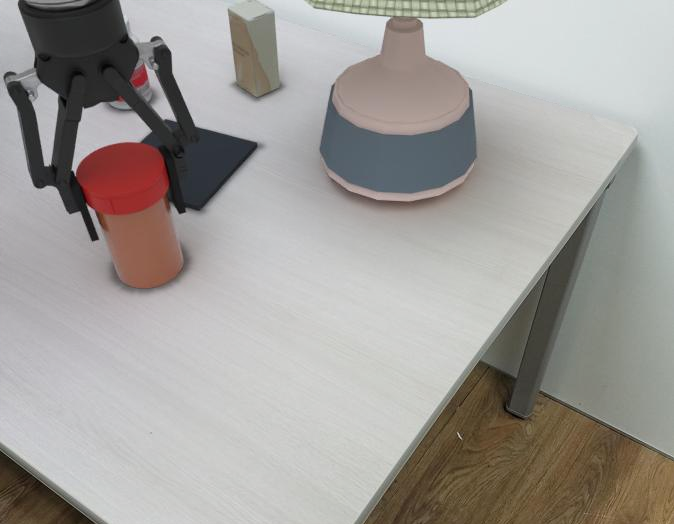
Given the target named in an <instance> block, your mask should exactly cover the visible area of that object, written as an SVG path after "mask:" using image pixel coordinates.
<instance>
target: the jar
mask: <svg viewBox="0 0 674 524" xmlns="http://www.w3.org/2000/svg"><path fill="white" fill-rule="evenodd" d="M170 203H171V202H170V201H169V200H168V196H167V192H166V194H165V195H164V197H163V198H162V199H161V200H159V201H158V202H157V203H156V204H154V205H152V206H151V207H149V208H147V209H144V210H142V211H139V212H135V213H131V214H125V215H109V214H104V213H100V212H97V211H95V210H93V211H94V214H95V217H96V219H97V222H98V225H99V227H100V230H101V233H102V237H103V239H104V241H105V244H106V246H107V250H108V252H109V255H110V258H111V261H112V264H113V267H114V269H115V272H116V275H117V277H118V279H119V280H120V281H121V282H122V283H123V284H125V285H127V286H128V287H131V288H135V289H152V288H157V287H160V286H163V285H166V284H167V283H170V282H171V281H172V280H174V279H175V278H176V277H177V276H178V275H179V274H180V272H181V271H182V269H183V267H184V261H185V260H184V254H183V251H182V247H181V243H180V238H179V235H178V231H177V227H176V224H175V220H174V215H173V212H172V208H171V207H172V206H171V204H170Z"/></svg>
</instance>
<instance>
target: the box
mask: <svg viewBox="0 0 674 524" xmlns="http://www.w3.org/2000/svg"><path fill="white" fill-rule="evenodd" d="M226 10H227V16H228V23H229V31H230V40H231V48H232V55H233V57H232V58H233V65H234V66H233V67H234V74H235V81H236V82H235V83H236V85H238V86H239V87H240V88H242V89H243V90H245V91H246V92H248V93H249V94H251V95H252V96H253V97H255V98H259V97H262V96H264V95H266V94H268V93H270V92H272V91H275V90H277V89H279V88H280V87H281V85H280V84H281V83H280V70H279V59H278V58H279V57H278V43H277V27H276V16H275V15H276V14H275V10H274V9H273V8H271V7H269V6H267V5H265V4H264V3H262V2H260V1H259V0H243V1H241V2H238V3H236V4H233V5H230V6H228V7H227V9H226Z"/></svg>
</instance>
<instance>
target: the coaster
mask: <svg viewBox="0 0 674 524" xmlns="http://www.w3.org/2000/svg"><path fill="white" fill-rule="evenodd" d="M163 120H164V122H165V123H166V124H167V125H168V126H169V128H170V129H171V130H172V131H173V132H174V131H175V130H177V129H178V128H180V127H179V125H178V122H177V121H175V120H172V119H166V118H165V119H163ZM196 129H197V131H198V133H199V136H200V141H199V142H198V143H197V144H194V145H192V144H190V145H188V146H187V147H186V148H185V149H184V150H185V152H186V156H185V157H184V158H185V163H186V167H187V171H188V177H187V179H185V180H182V181H179V183H180V188H181V192H182V196H183V200H184V204H185V207H187V208H191V209H194V210H198V211H200V210H201V209H202V208H203V207H204V206H205V205H206V204H207V203H208V202H209V201H210V199H211V198H212V197H213V196H214V195H215V194H216V193H217V192H218V191H219V189H220V188H222V186H223V185H224V184H225V183H226V182H227V181H228V180H229V178H231V176H232V175H233V174H234V173H235V172H236V171H237V170H238V168H240V167H241V165H242V164H243V163H244V162H245V161H246V160H247V158H249V157H250V156H251V154H252V153H253V152H254V151H255V150H256V149H257V148H258V141H257V142H256V141H254V140H253V141H252V140H249V139H245V138H241V137H238V136H234V135H229V134H227V133H222V132H218V131H214V130H210V129H206V128H203V127H198V126H196ZM139 143H143V144H147V145H150V146H152V147H154V148H156V149H157V150H158V151H159V149H158V146H160V145H164V144H163V143H162V142H161V141H160V139H159V138H158V137H157V136H156V135H155V134H154V133H153V131H152V130H151V132H149V133H148V134H147V135H146V136H145V137H144V138H143V139H142V140H141V141H140V142H139ZM167 196H168V200H169V203H173V202H172V200H171V196H170V192H169V188H168V190H167Z"/></svg>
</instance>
